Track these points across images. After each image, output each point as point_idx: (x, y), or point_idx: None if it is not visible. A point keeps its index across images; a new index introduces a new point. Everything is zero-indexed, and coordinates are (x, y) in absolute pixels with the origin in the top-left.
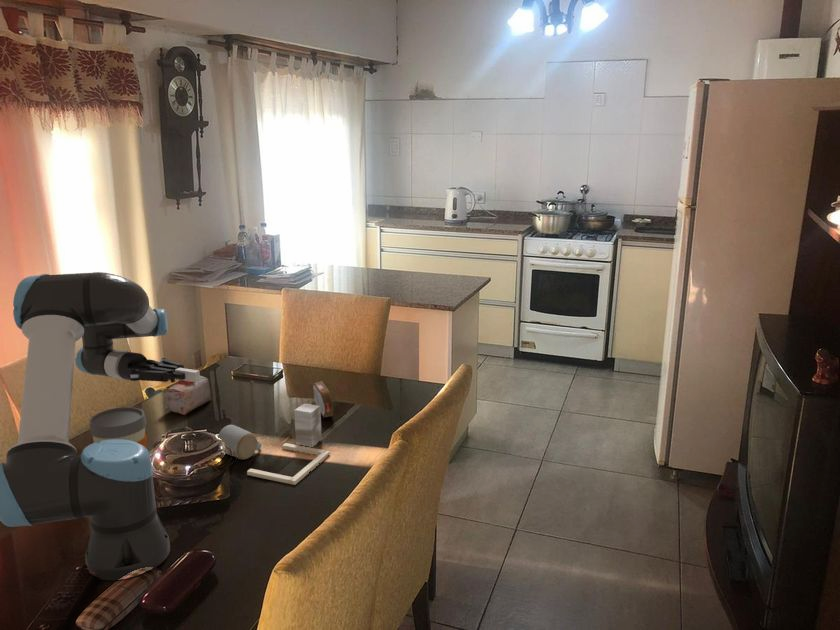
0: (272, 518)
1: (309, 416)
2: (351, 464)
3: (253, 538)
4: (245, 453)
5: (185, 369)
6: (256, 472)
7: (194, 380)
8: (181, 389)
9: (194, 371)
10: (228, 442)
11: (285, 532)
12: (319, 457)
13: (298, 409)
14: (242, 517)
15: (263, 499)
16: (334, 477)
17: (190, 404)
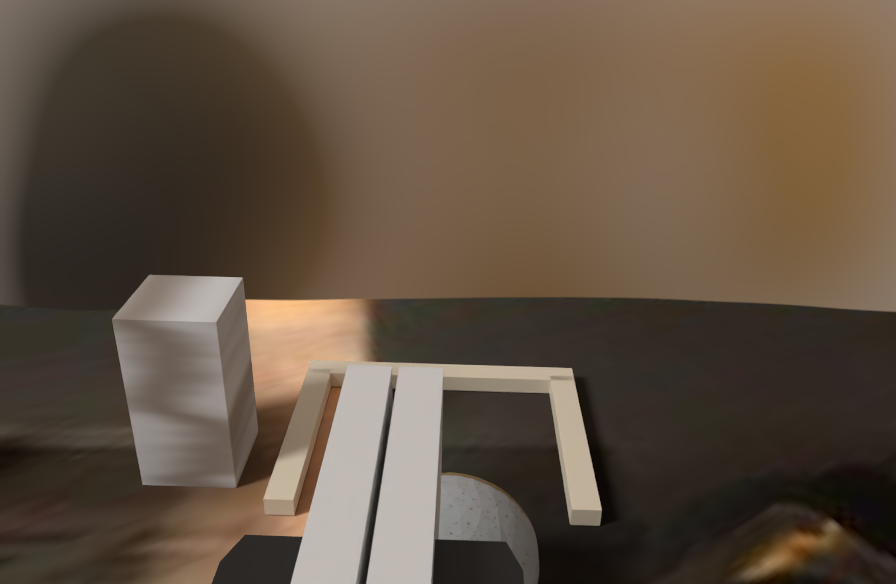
0: (772, 363)
1: (242, 300)
2: (365, 320)
3: (883, 361)
4: None
5: (353, 531)
6: (589, 477)
7: (440, 488)
8: None
9: (403, 390)
10: (528, 574)
11: (795, 326)
12: None
13: (205, 313)
14: (840, 416)
15: (710, 413)
16: (467, 328)
17: None
